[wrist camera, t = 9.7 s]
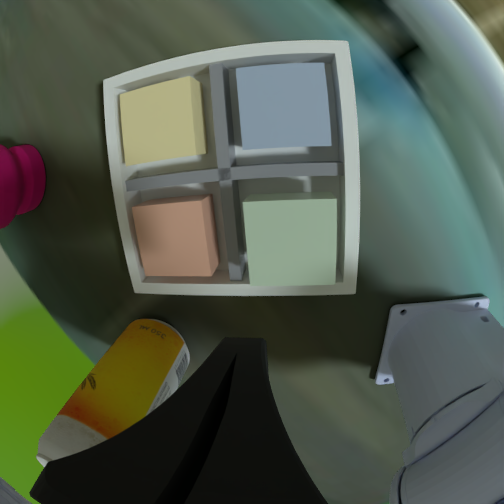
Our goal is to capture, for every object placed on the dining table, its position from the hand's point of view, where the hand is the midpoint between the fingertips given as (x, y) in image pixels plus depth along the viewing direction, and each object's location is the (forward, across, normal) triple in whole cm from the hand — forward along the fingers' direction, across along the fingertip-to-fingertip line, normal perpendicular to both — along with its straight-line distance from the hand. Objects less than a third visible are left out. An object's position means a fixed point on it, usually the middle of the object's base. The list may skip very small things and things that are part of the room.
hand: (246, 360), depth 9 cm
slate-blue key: (+10, -1, -9) cm, 13 cm away
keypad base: (+10, +2, -5) cm, 12 cm away
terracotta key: (+10, +6, -2) cm, 11 cm away
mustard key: (+10, +6, -9) cm, 14 cm away
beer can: (+11, +10, +8) cm, 17 cm away
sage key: (+9, -1, -2) cm, 9 cm away
